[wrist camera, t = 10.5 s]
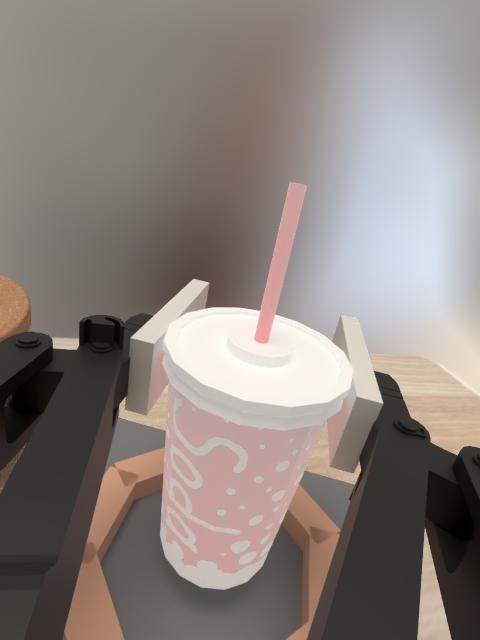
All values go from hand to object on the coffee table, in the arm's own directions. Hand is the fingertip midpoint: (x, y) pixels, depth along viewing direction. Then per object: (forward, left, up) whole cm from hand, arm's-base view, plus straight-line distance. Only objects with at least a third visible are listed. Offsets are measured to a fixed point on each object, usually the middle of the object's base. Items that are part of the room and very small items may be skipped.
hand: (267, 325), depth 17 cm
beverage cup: (0, -5, -8) cm, 9 cm away
